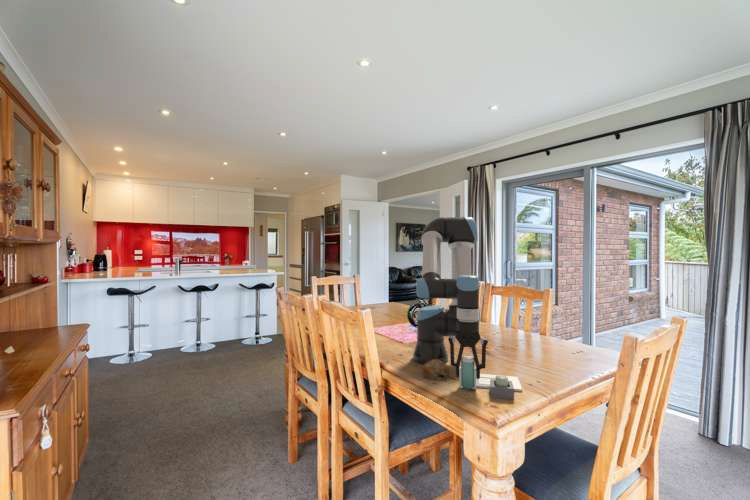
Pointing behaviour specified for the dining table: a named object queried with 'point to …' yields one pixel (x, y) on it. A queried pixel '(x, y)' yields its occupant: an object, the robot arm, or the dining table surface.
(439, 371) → the bread roll
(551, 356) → the dining table surface
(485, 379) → the sheet
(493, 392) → the button housing
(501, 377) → the button
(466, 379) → the white-capped teal capsule
